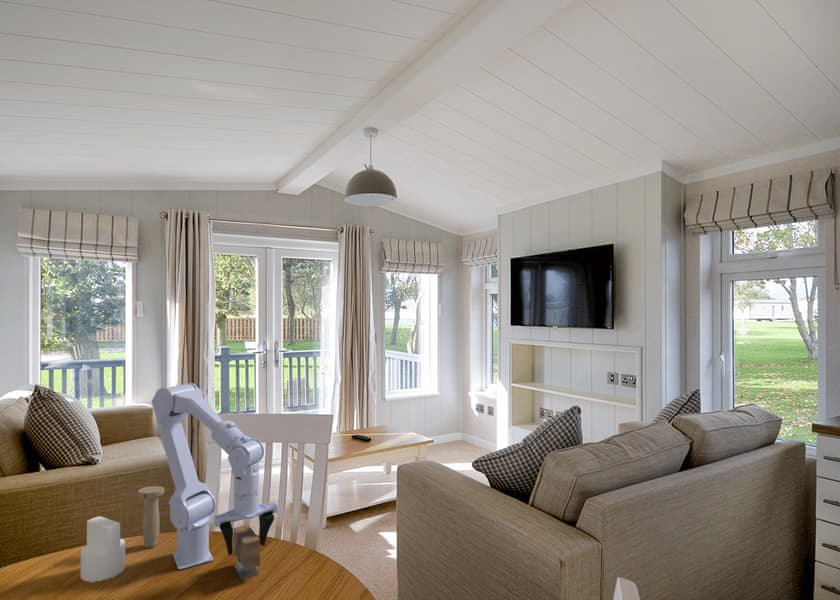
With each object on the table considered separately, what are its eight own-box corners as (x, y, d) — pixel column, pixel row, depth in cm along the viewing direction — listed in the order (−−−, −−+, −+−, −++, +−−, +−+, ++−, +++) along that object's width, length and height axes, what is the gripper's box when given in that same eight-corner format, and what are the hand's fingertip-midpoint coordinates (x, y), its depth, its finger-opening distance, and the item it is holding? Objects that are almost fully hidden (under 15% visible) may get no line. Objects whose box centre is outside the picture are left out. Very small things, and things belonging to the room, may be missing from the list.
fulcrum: (234, 568, 120) (234, 555, 120) (251, 563, 122) (251, 551, 122) (241, 579, 115) (241, 566, 115) (258, 574, 117) (258, 561, 117)
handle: (155, 551, 129) (155, 493, 129) (133, 549, 130) (134, 492, 130) (168, 542, 133) (168, 486, 134) (146, 540, 134) (146, 485, 135)
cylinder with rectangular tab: (72, 576, 117) (72, 525, 117) (111, 559, 125) (111, 511, 125) (94, 586, 113) (94, 533, 113) (133, 567, 121) (133, 518, 121)
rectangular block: (233, 552, 122) (233, 527, 122) (248, 548, 124) (248, 524, 124) (244, 570, 114) (244, 543, 114) (259, 565, 116) (259, 539, 116)
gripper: (218, 504, 112) (218, 564, 111) (281, 490, 120) (281, 546, 120) (211, 494, 117) (211, 551, 117) (272, 482, 126) (272, 535, 125)
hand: (246, 548), depth 119 cm, fingers open, 7 cm apart
